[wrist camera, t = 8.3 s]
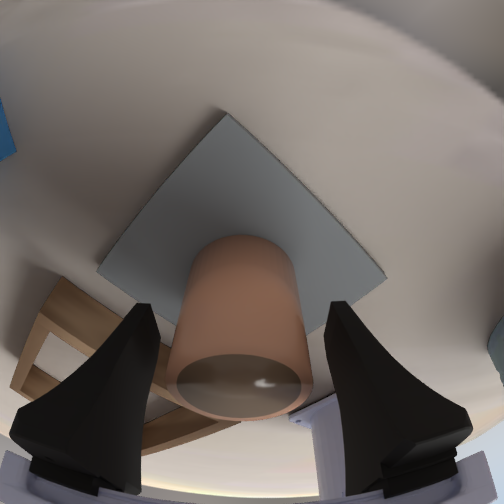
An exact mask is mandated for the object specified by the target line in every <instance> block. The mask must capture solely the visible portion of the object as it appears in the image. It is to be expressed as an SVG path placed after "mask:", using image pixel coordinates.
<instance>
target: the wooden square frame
mask: <svg viewBox="0 0 504 504" xmlns="http://www.w3.org/2000/svg"><path fill="white" fill-rule="evenodd" d="M122 320H123V319H122V318H121V317H119V316H118V315H116V314H115V313H113V312H112V311H110V310H109V309H107V308H106V307H104V306H103V305H101V304H100V303H99V302H97V301H96V300H94V299H93V298H91V297H90V296H89V295H87V294H86V293H84V292H83V291H82V290H80V289H79V288H77V287H76V286H75V285H73V284H72V283H71V282H69V281H68V280H67V279H65V278H64V277H63V276H62V277H61V279H60V280H59V282H58V283H57V285H56V286H55V288H54V289H53V291H52V292H51V294H50V295H49V297H48V298H47V300H46V302H45V303H44V305H43V306H42V308H41V310H40V311H39V313H38V315H37V318H36V320H35V322H34V324H33V327H32V329H31V331H30V334H29V336H28V339H27V341H26V343H25V346H24V348H23V351H22V354H21V356H20V359H19V361H18V364H17V367H16V370H15V372H14V375H13V378H12V381H11V384H10V388H11V389H13V390H14V391H16V392H17V393H19V394H20V395H22V396H23V397H25V398H26V399H28V400H29V401H31V402H32V401H34V400H36V399H37V398H39V397H41V396H42V395H44V394H45V393H47V392H49V391H50V390H52V389H53V388H54V387H56V386H57V385H59V384H60V382H59V381H57V380H56V379H54V378H52V377H51V376H49V375H48V374H46V373H45V372H43V371H42V370H40V369H39V368H37V367H36V366H34V365H33V362H34V360H35V358H36V356H37V354H38V353H39V351H40V349H41V347H42V345H43V343H44V341H45V339H46V337H47V335H48V334H49V332H52V333H53V334H54V335H56V336H57V337H59V338H60V339H62V340H63V341H65V342H66V343H68V344H69V345H71V346H72V347H74V348H75V349H77V350H79V351H80V352H82V353H83V354H85V355H86V356H88V357H91V356H92V355H93V354H94V353H95V351H96V350H97V349H98V348H99V347H100V346H101V345H102V344H103V343H104V342H105V340H106V339H107V338H108V337H109V336H110V335H111V333H112V332H113V331H114V330H115V329H116V328H117V326H118V325H119V324H120V323H121V321H122ZM170 352H171V348H169V347H168V346H166V345H164V344H163V343H161V342H160V347H159V354H158V360H157V364H156V368H155V372H154V376H153V380H152V384H151V387H150V391H151V392H153V393H155V394H157V395H159V396H161V397H163V398H165V399H167V400H169V401H172V402H174V403H176V404H178V405H180V406H182V407H180V408H178V409H176V410H174V411H172V412H170V413H168V414H165V415H163V416H161V417H159V418H157V419H155V420H153V421H151V422H148V423H146V424H144V425H143V434H142V448H141V456H145V455H149V454H152V453H156V452H159V451H162V450H166V449H169V448H172V447H175V446H178V445H181V444H184V443H187V442H190V441H193V440H196V439H199V438H202V437H204V436H207V435H210V434H213V433H215V432H218V431H221V430H223V429H226V428H228V427H231V426H233V425H236V424H238V423H241V421H230V420H222V419H217V418H212V417H208V416H205V415H202V414H199V413H197V412H194V411H192V410H190V409H188V408H187V407H185V406H183V405H182V404H180V403H179V402H178V401H177V400H176V399H174V398H173V396H172V395H171V394H170V393H169V391H168V389H167V387H166V384H165V375H166V370H167V365H168V361H169V356H170Z"/></svg>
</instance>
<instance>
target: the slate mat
mask: <svg viewBox="0 0 504 504" xmlns="http://www.w3.org/2000/svg"><path fill="white" fill-rule="evenodd" d="M232 235H250V236H256V237H260V238H263V239H266V240H268V241H270V242H272V243H274V244H276V245H277V246H279V247H280V248H281V249H282V250H283V251H284V252H285V253H286V254H287V255H288V256H289V258H290V260H291V261H292V264H293V266H294V270H295V275H296V280H297V286H298V291H299V297H300V303H301V309H302V315H303V320H304V326H305V333H306V335H308V334H309V333H311V332H312V331H314V330H315V329H317V328H318V327H320V326H321V325H323V324H324V323H326V322H327V318H328V313H329V308H330V303H331V301H346V302H347V303H348V304H349V305H350V306H351V305H352V304H353V303H355V302H356V301H358V300H359V299H360V298H362V297H363V296H365V295H366V294H367V293H369V292H370V291H372V290H373V289H374V288H376V287H377V286H378V285H380V284H381V283H382V282H384V281H385V280H386V279H387V277H386V275H385V273H384V272H383V271H382V270H381V268H380V267H379V266H378V265H377V264H376V263H375V261H374V260H373V259H372V258H371V257H370V256H369V255H368V253H367V252H366V251H365V250H364V249H363V248H362V247H361V245H360V244H359V243H358V242H357V241H356V240H355V239H354V238H353V236H352V235H351V234H350V233H349V232H348V231H347V230H346V229H345V228H344V227H343V226H342V224H341V223H340V222H339V221H338V220H337V219H336V218H335V217H334V216H333V215H332V214H331V213H330V212H329V210H328V209H327V208H326V207H325V206H324V205H323V204H322V203H321V202H320V201H319V200H318V199H317V198H316V197H315V196H314V195H313V194H312V193H311V192H310V191H309V190H308V189H307V188H306V187H305V186H304V185H303V184H302V183H301V182H300V181H299V180H298V179H297V178H296V177H295V176H294V175H293V174H292V173H291V172H290V171H289V170H288V169H287V168H286V167H285V166H284V165H283V164H282V163H281V162H280V161H279V160H278V159H277V158H276V157H275V156H274V155H273V154H272V153H271V152H270V151H269V150H268V149H267V148H266V147H265V146H264V145H263V144H261V143H260V142H259V141H258V140H257V139H256V138H255V137H254V136H253V135H252V134H251V133H250V132H249V131H247V130H246V129H245V128H244V127H243V126H242V125H241V124H240V123H239V122H238V121H236V120H235V119H234V118H233V117H232V116H231V115H230V114H229V113H227V114H226V115H225V116H224V117H223V118H222V119H221V120H220V121H219V122H218V123H217V124H216V125H215V126H214V127H213V128H212V129H211V131H210V132H209V133H208V134H207V135H206V136H205V137H204V138H203V139H202V140H201V141H200V142H199V143H198V144H197V146H196V147H195V148H194V149H193V150H192V151H191V152H190V153H189V154H188V155H187V157H186V158H185V159H184V160H183V161H182V162H181V163H180V164H179V166H178V167H177V168H176V169H175V170H174V171H173V172H172V174H171V175H170V176H169V177H168V178H167V179H166V181H165V182H164V183H163V184H162V185H161V187H160V188H159V189H158V190H157V191H156V193H155V194H154V195H153V196H152V197H151V199H150V200H149V201H148V202H147V204H146V205H145V206H144V207H143V209H142V210H141V211H140V212H139V214H138V215H137V216H136V218H135V219H134V220H133V221H132V223H131V224H130V225H129V227H128V228H127V229H126V230H125V232H124V233H123V234H122V236H121V237H120V238H119V240H118V241H117V242H116V244H115V245H114V247H113V248H112V249H111V251H110V252H109V253H108V255H107V256H106V258H105V259H104V260H103V262H102V263H101V265H100V266H99V268H98V269H97V271H96V272H97V273H99V274H100V275H101V276H103V277H104V278H105V279H107V280H108V281H110V282H111V283H112V284H114V285H115V286H117V287H118V288H120V289H121V290H122V291H124V292H125V293H127V294H128V295H130V296H131V297H133V298H134V299H135V300H137V301H138V302H140V303H151V307H152V310H153V311H154V312H155V313H157V314H158V315H160V316H161V317H163V318H164V319H166V320H167V321H169V322H171V323H172V324H174V325H175V326H176V325H177V321H178V317H179V313H180V309H181V305H182V301H183V296H184V292H185V288H186V285H187V281H188V277H189V273H190V269H191V265H192V263H193V260H194V259H195V257H196V255H197V254H198V253H199V252H200V251H201V250H202V249H203V248H204V247H205V246H207V245H208V244H210V243H211V242H213V241H215V240H217V239H220V238H223V237H227V236H232Z"/></svg>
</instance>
